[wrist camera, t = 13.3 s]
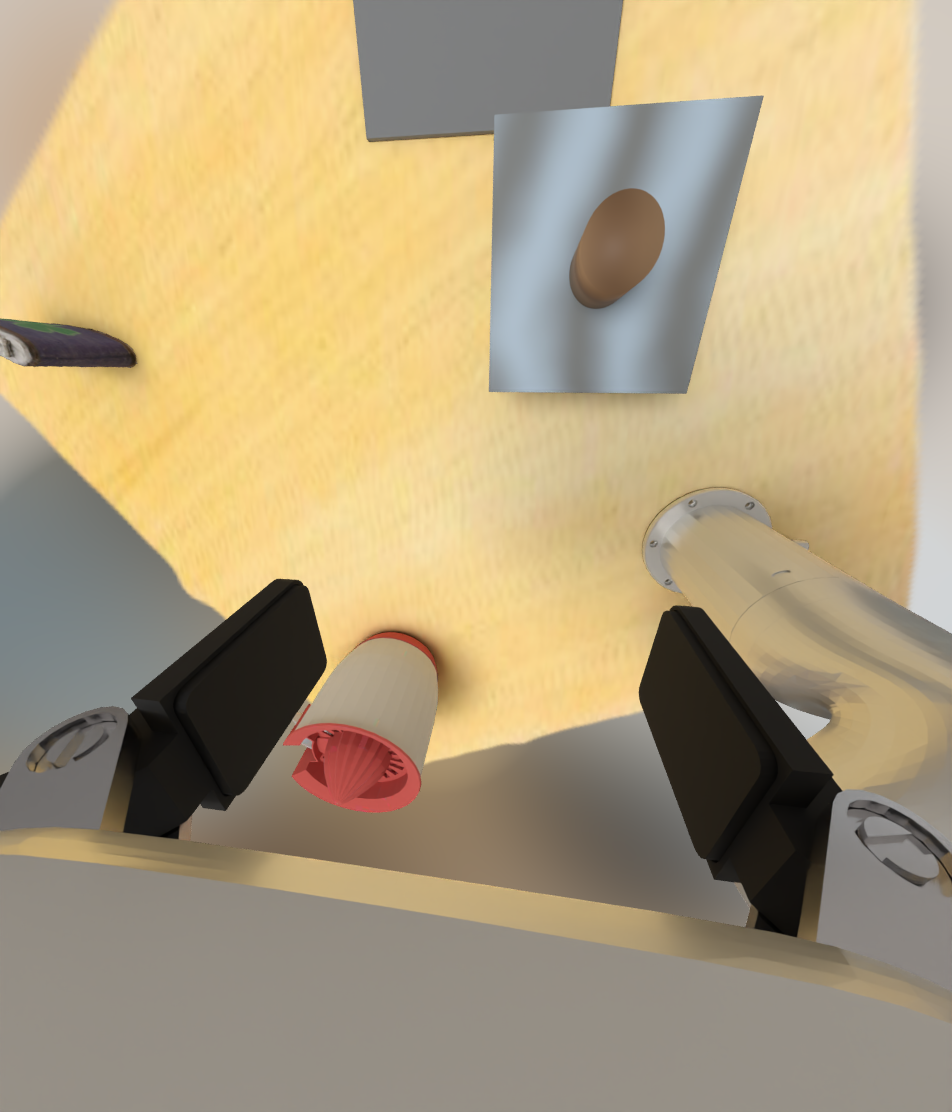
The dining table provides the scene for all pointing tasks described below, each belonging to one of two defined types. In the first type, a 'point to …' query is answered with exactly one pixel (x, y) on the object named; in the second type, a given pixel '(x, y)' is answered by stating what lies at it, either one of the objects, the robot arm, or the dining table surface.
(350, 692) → the citrus juicer
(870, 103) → the dining table surface
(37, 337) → the flask
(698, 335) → the lid
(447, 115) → the tray
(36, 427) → the dining table surface
